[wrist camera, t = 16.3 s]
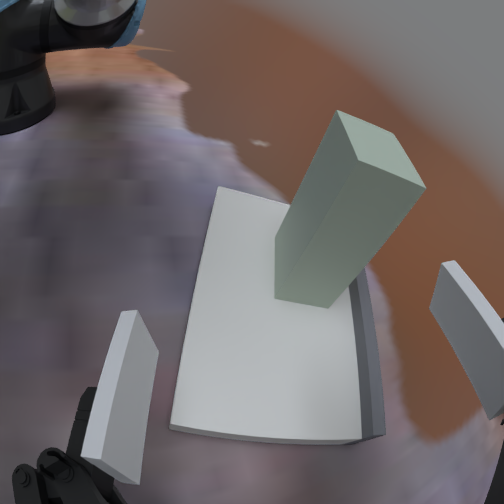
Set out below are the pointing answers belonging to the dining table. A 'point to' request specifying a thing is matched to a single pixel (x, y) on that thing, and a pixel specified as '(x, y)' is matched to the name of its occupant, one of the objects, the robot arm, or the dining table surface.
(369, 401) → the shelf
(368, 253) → the carton
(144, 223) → the dining table surface
